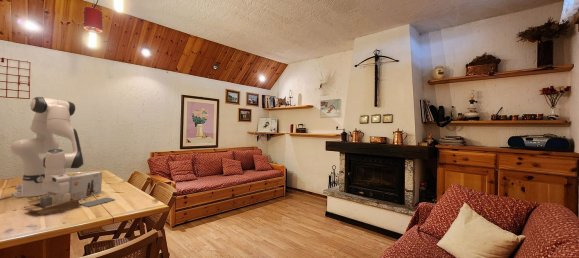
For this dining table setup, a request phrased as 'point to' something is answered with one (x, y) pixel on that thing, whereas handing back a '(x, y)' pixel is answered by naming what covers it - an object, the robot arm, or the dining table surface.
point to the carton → (53, 206)
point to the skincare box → (85, 184)
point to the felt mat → (97, 202)
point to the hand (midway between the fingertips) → (54, 199)
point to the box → (53, 200)
